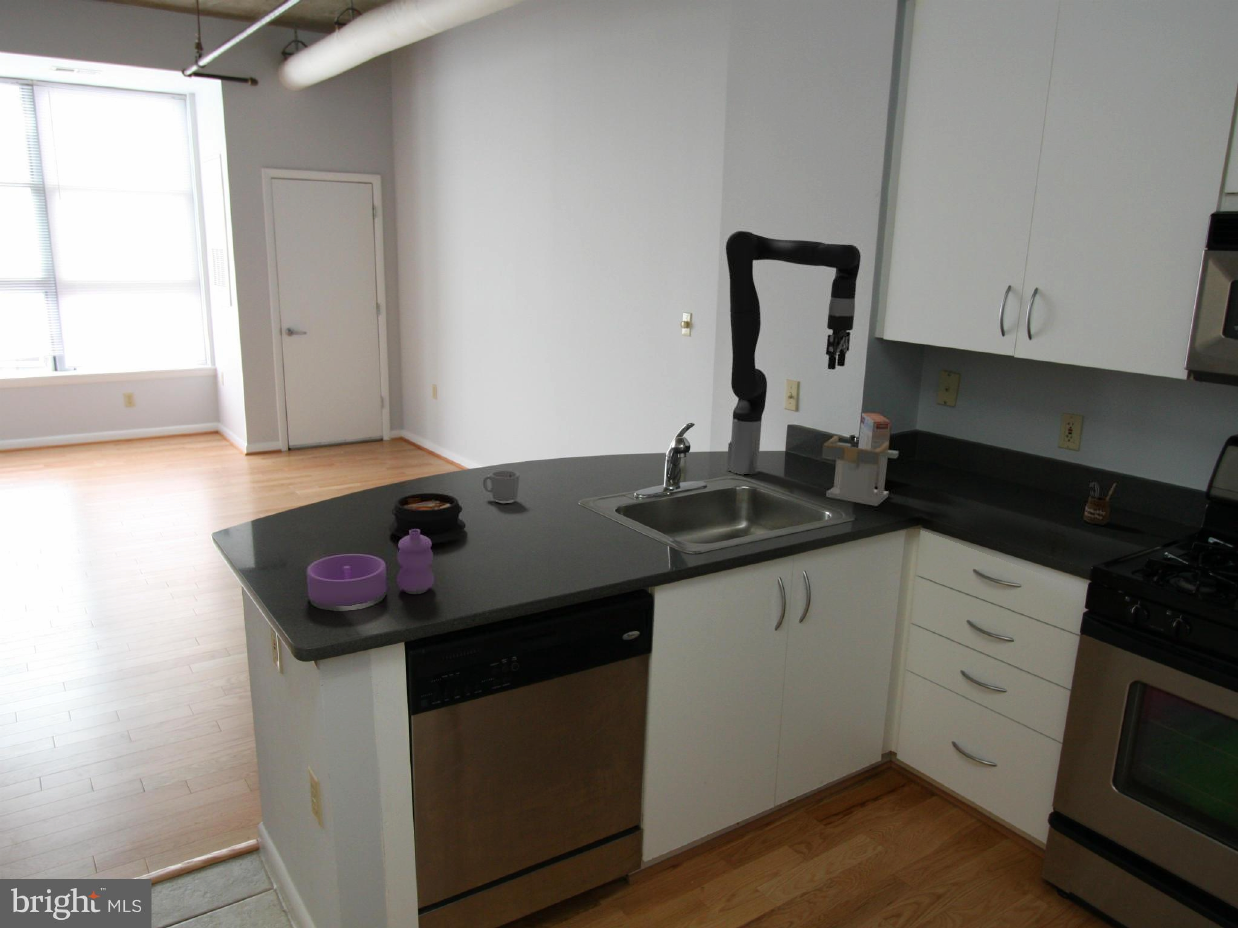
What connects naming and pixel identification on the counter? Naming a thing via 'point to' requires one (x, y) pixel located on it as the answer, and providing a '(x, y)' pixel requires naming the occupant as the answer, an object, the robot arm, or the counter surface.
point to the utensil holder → (1097, 508)
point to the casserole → (428, 517)
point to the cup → (503, 485)
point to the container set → (369, 573)
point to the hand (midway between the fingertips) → (836, 367)
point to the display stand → (860, 480)
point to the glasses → (852, 453)
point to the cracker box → (874, 434)
